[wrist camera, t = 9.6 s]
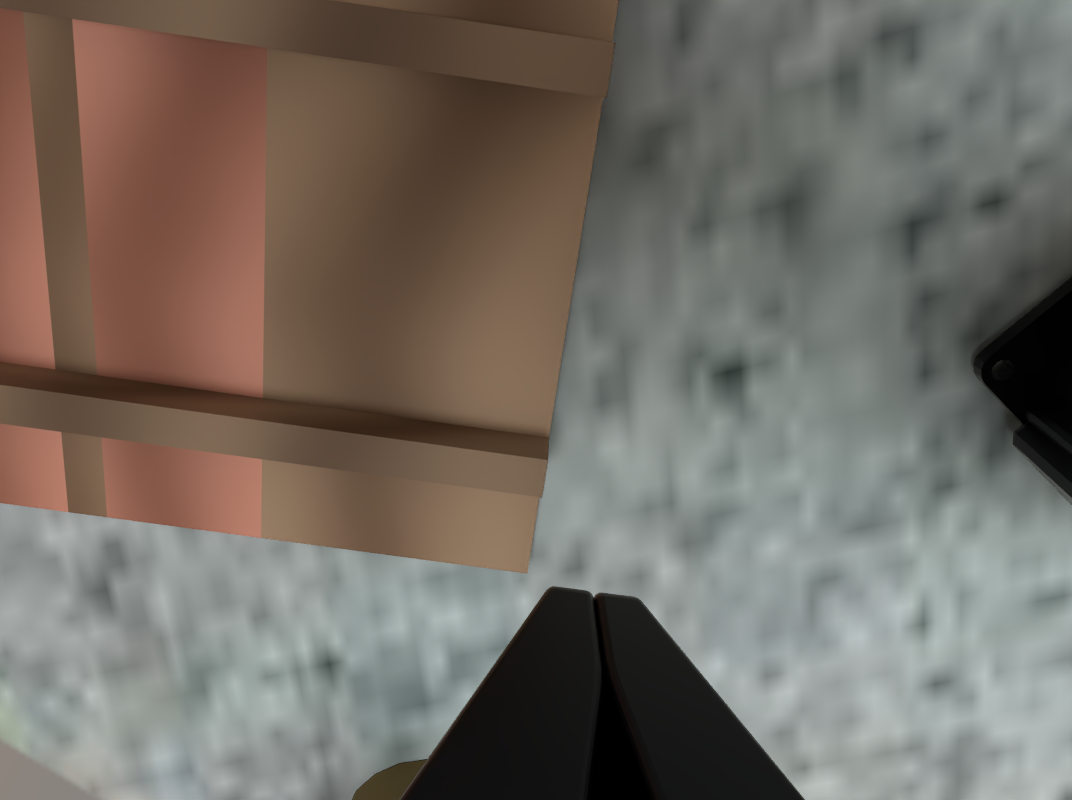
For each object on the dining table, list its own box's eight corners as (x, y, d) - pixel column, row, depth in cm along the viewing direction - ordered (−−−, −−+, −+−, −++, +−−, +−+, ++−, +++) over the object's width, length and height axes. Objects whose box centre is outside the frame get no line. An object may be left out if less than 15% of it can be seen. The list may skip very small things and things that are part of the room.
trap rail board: (637, -124, 17) (654, -160, 14) (528, 560, 23) (522, 648, 20) (-458, -293, 16) (-719, -376, 13) (-264, 454, 23) (-406, 526, 19)
